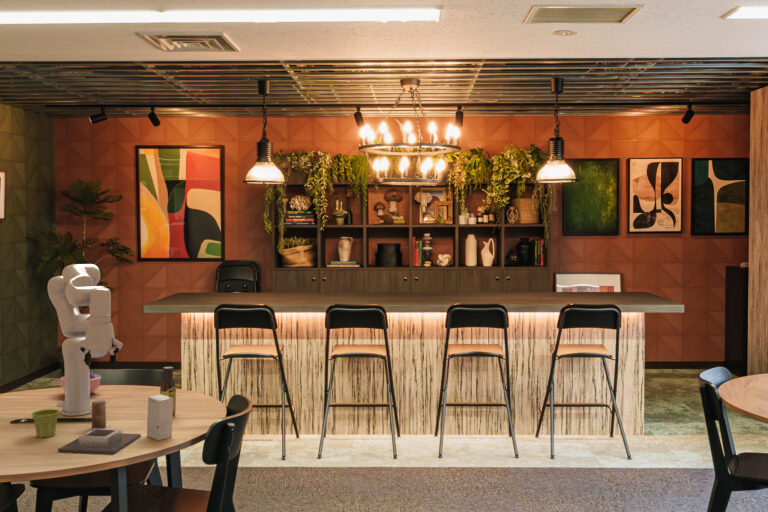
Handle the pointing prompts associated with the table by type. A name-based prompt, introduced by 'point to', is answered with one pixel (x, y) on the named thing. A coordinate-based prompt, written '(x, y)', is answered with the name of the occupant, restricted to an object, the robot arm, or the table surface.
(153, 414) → the skincare box
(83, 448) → the socket
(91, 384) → the cell model
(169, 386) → the sauce bottle
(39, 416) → the plant pot
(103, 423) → the peg
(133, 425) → the table surface
